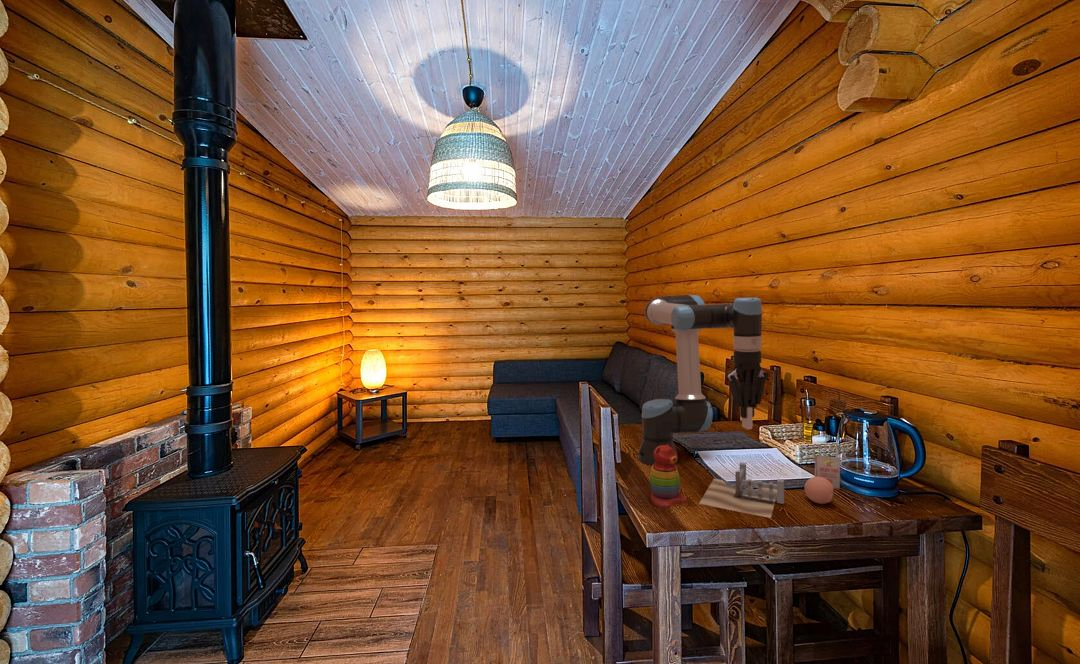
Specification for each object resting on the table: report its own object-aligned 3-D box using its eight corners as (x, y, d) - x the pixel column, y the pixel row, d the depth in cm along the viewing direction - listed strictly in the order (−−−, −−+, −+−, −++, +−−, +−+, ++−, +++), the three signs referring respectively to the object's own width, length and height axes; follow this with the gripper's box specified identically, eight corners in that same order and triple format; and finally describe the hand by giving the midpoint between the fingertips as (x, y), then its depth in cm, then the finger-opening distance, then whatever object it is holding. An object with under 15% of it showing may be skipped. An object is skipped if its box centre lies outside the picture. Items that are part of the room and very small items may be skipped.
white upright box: (814, 482, 157) (814, 453, 156) (838, 485, 154) (838, 456, 153) (815, 486, 154) (815, 457, 153) (839, 489, 151) (840, 459, 150)
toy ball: (840, 506, 139) (841, 481, 138) (818, 510, 138) (818, 484, 137) (819, 495, 147) (819, 471, 146) (798, 498, 145) (798, 474, 145)
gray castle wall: (742, 497, 145) (742, 476, 145) (743, 495, 147) (742, 474, 146) (783, 504, 140) (784, 482, 139) (784, 501, 142) (784, 479, 141)
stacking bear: (663, 511, 140) (663, 453, 139) (642, 498, 149) (640, 444, 148) (690, 502, 145) (689, 447, 144) (667, 491, 154) (666, 438, 153)
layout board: (713, 480, 162) (713, 478, 162) (778, 491, 151) (778, 489, 151) (698, 505, 143) (698, 503, 143) (770, 519, 133) (770, 517, 133)
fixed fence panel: (740, 483, 157) (740, 459, 157) (746, 483, 156) (746, 460, 156) (734, 496, 147) (734, 472, 146) (740, 497, 146) (740, 473, 145)
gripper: (736, 352, 132) (736, 433, 134) (775, 350, 135) (774, 429, 137) (720, 349, 139) (720, 426, 141) (757, 347, 142) (757, 422, 144)
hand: (747, 427), depth 139 cm, fingers closed
